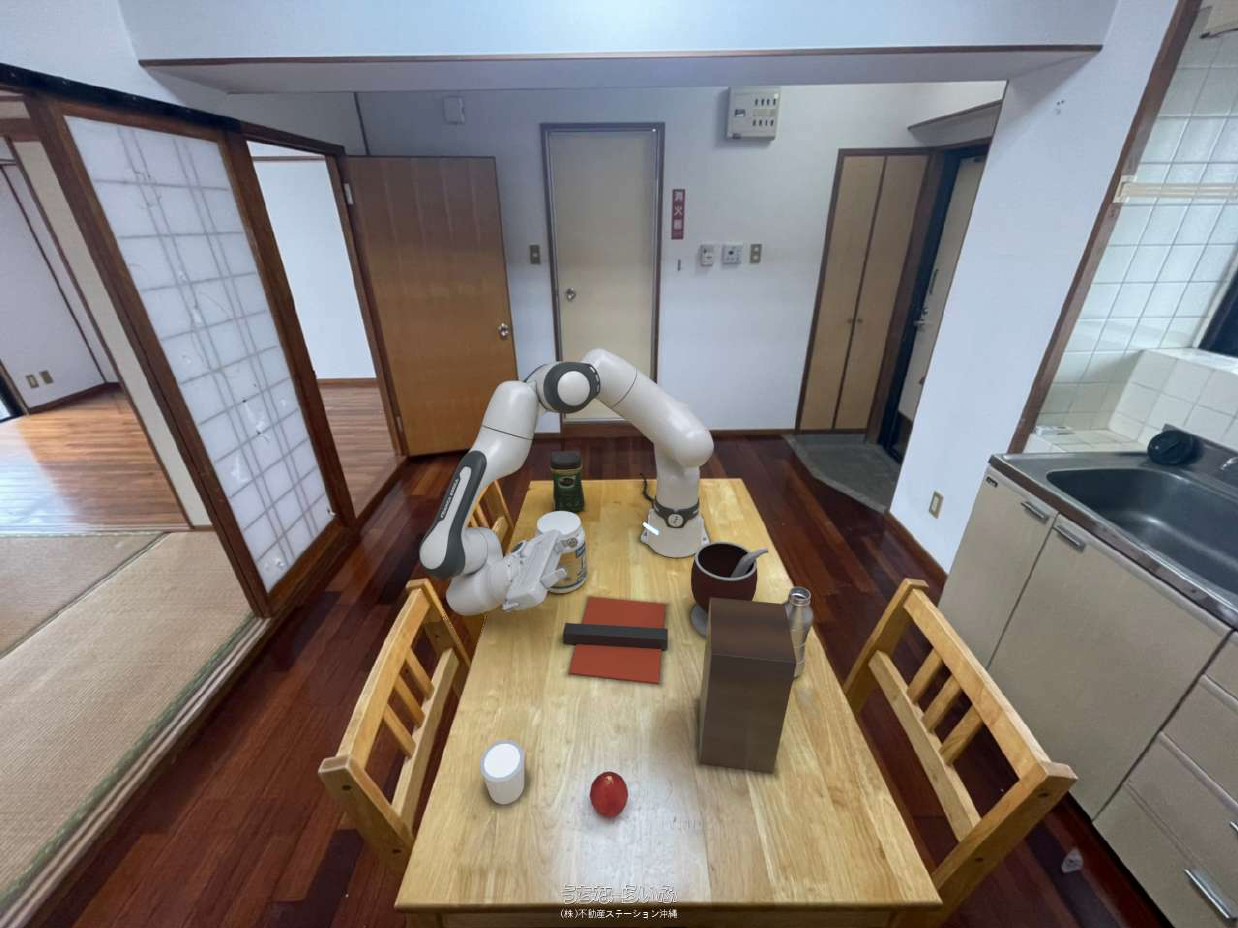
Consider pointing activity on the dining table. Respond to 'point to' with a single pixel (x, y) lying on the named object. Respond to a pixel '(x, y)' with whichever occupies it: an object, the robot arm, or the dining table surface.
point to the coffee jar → (567, 481)
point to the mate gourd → (722, 577)
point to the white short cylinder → (503, 771)
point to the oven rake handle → (615, 636)
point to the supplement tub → (567, 548)
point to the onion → (608, 794)
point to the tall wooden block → (745, 684)
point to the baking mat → (620, 659)
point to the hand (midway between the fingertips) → (571, 554)
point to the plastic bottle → (799, 622)
